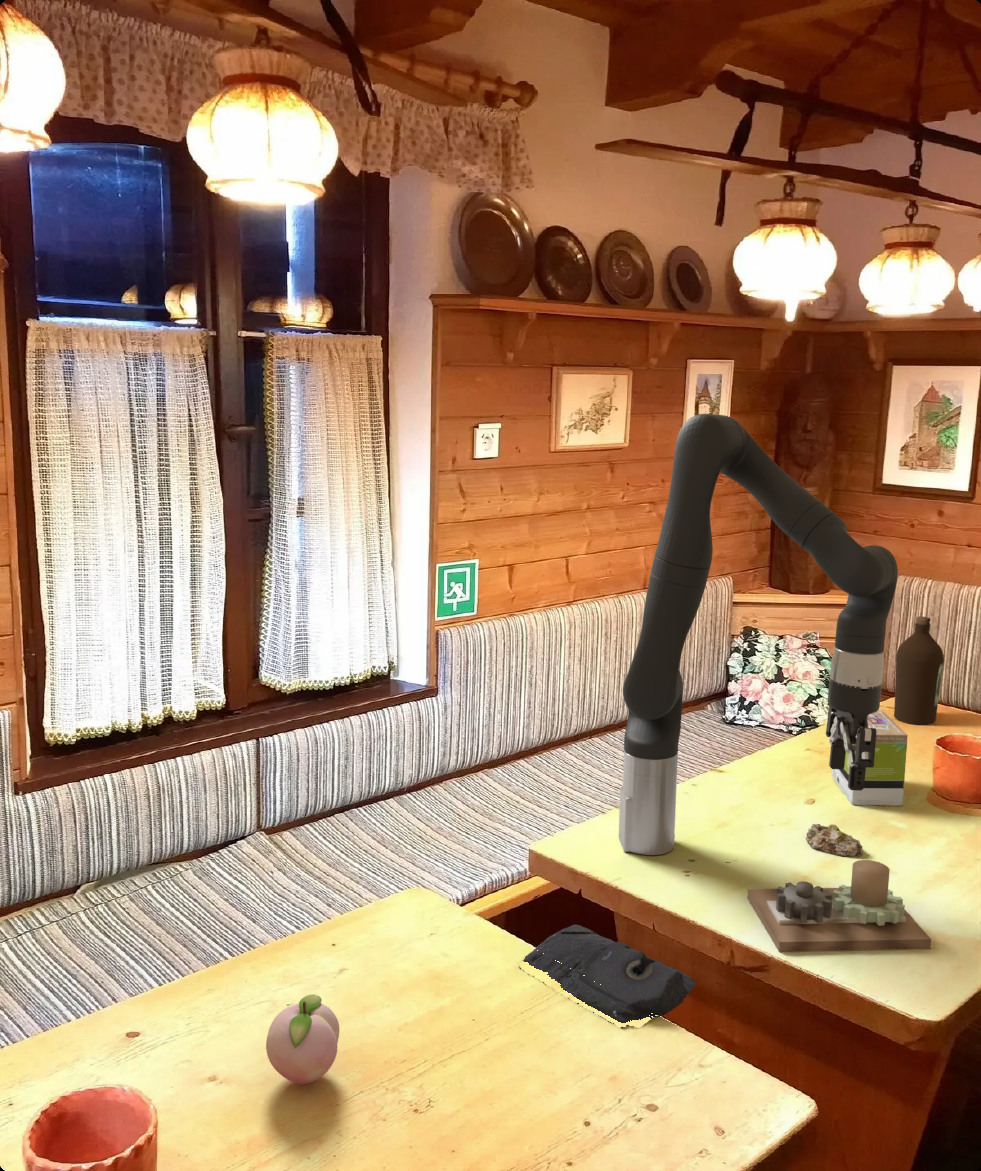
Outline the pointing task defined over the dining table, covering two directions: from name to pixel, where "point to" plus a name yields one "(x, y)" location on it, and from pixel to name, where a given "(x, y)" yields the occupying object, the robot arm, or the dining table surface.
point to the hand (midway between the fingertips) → (845, 778)
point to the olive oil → (918, 676)
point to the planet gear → (869, 895)
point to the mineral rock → (833, 841)
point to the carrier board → (826, 922)
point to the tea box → (880, 766)
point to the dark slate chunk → (610, 975)
